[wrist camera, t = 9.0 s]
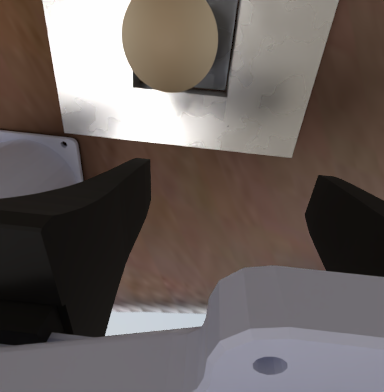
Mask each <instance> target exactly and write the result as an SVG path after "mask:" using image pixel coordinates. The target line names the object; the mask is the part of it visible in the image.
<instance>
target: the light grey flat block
mask: <svg viewBox="0 0 384 392" xmlns="http://www.w3.org/2000/svg"><path fill="white" fill-rule="evenodd" d="M42 1H43V7H44V13H45V19H46V25H47V31H48V37H49V43H50V49H51V55H52V61H53V67H54V73H55V79H56V85H57V91H58V97H59V103H60V109H61V115H62V121H63V127H64V133H71V134H80V135H89V136H98V137H107V138H116V139H125V140H134V141H143V142H152V143H161V144H170V145H179V146H188V147H197V148H206V149H215V150H225V151H234V152H243V153H252V154H261V155H270V156H279V157H288V158H292V154H293V151H294V148H295V144H296V141H297V138H298V135H299V131H300V128H301V125H302V121H303V118H304V115H305V111H306V108H307V105H308V101H309V98H310V95H311V91H312V88H313V85H314V81H315V78H316V75H317V71H318V68H319V65H320V61H321V58H322V55H323V51H324V48H325V45H326V41H327V38H328V35H329V31H330V28H331V25H332V22H333V18H334V15H335V12H336V8H337V5H338V2H339V0H239V7H238V14H237V21H236V28H235V35H234V42H233V49H232V56H231V63H230V70H229V77H228V83H227V90H226V92H222V91H213V90H203V89H194V88H190V89H188V90H185V91H182V92H177V93H167V92H162V91H158V90H156V89H153V88H151V87H149V86H148V85H147V84H145V83H141V80H140V79H139V78H138V77H137V75H136V74H135V73H134V72H133V70H132V69H131V67H130V65H129V63H128V61H127V59H126V57H125V53H124V50H123V45H122V36H121V33H122V22H123V18H124V14H125V11H126V9H127V7H128V5H129V3H130V1H131V0H42ZM206 2H207V3H208V4H209V6H210V8H211V10H212V12H213V15H214V17H215V20H216V24H217V30H218V48H217V53H216V57H215V60H214V63H213V65H212V67H211V69H210V70H209V72H208V74H207V75H206V76H205V77H204V79H202V80H201V81H200V82H199V83H198V84H197V85H195V86H194V87H197V88H206V89H216V90H225V88H226V81H227V74H228V66H229V59H230V52H231V45H232V38H233V31H234V24H235V17H236V10H237V3H238V0H206ZM142 82H143V81H142Z"/></svg>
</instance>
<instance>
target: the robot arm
mask: <svg viewBox="0 0 384 392" xmlns="http://www.w3.org/2000/svg"><path fill="white" fill-rule="evenodd" d="M63 141H64V142H66V144H67V146H65V145H64V144H63ZM150 201H151V173H150V159H141V158H135V159H132V160H130V161H128V162H125V163H123V164H121V165H119V166H117V167H115V168H113V169H111V170H109V171H107V172H105V173H102V174H100V175H98V176H95V177H93V178H91V179H88V180H85V181H83V174H82V167H81V160H80V153H79V146H78V142H77V141H76V140H75V139H74V138H70V137H61V136H52V135H43V134H33V133H24V132H15V131H6V130H0V392H384V201H383V200H381V199H379V198H377V197H375V196H374V195H372V194H370V193H368V192H366V191H364V190H362V189H360V188H358V187H356V186H354V185H352V184H350V183H348V182H346V181H344V180H342V179H339V178H337V177H333V176H323V175H318V178H317V181H316V184H315V187H314V190H313V193H312V195H311V198H310V201H309V204H308V207H307V210H306V213H305V218H306V222H307V226H308V230H309V233H310V236H311V238H312V240H313V243H314V245H315V247H316V249H317V252H318V254H319V256H320V258H321V260H322V263H323V265H324V267H325V269H326V271H321V270H312V269H303V268H293V267H284V266H274V265H271V266H259V267H247V268H242V269H240V270H239V271H237V272H235V273H233V274H231V275H229V276H227V277H225V278H223V279H221V280H219V282H218V283H217V285H216V287H215V289H214V290H213V292H212V294H211V295H210V297H209V301H208V308H207V314H206V319H205V321H204V324H203V325H202V326H201V327H192V328H183V329H173V330H163V331H153V332H143V333H133V334H124V335H113V336H105V333H106V329H107V325H108V321H109V318H110V314H111V311H112V307H113V304H114V300H115V297H116V293H117V290H118V287H119V283H120V280H121V277H122V274H123V271H124V268H125V264H126V262H127V259H128V257H129V254H130V252H131V250H132V248H133V245H134V243H135V241H136V239H137V237H138V234H139V232H140V230H141V228H142V225H143V223H144V221H145V219H146V216H147V212H148V209H149V205H150Z"/></svg>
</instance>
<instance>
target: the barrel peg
mask: <svg viewBox="0 0 384 392" xmlns="http://www.w3.org/2000/svg"><path fill="white" fill-rule="evenodd" d="M121 36H122V45H123V50H124V53H125V57H126V59H127V61H128V63H129V65H130V67H131V69H132V70H133V72H134V73H135V74H136V75H137V77H138V78H139V79H140V80H141V81H143V82H144V83H145V84H147V85H148V86H149V87H151V88H153V89H156V90H158V91H162V92H167V93H177V92H182V91H185V90H188V89H190V88H192V87H194V86H195V85H197V84H198V83H199V82H200V81H201V80H202V79H204V77H205V76H206V75H207V74H208V72H209V70H210V69H211V67H212V65H213V63H214V60H215V57H216V53H217V48H218V30H217V24H216V20H215V17H214V15H213V12H212V10H211V8H210V6H209V4H208V3H207V2H206V0H131V1H130V3H129V5H128V7H127V9H126V11H125V14H124V18H123V22H122V33H121Z"/></svg>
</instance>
